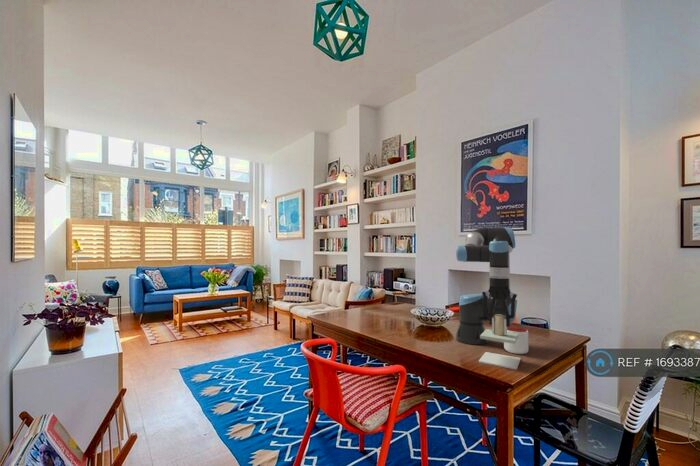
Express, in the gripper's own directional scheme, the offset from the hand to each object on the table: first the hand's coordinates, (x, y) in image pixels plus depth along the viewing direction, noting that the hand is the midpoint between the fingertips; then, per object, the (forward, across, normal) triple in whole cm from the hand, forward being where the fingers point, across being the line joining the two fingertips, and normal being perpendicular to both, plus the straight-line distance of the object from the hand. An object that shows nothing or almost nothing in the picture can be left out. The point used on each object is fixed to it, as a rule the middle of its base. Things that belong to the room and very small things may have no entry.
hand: (499, 333), depth 136 cm
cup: (+12, +4, +18) cm, 22 cm away
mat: (+11, 0, 0) cm, 11 cm away
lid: (+2, 0, 0) cm, 2 cm away
